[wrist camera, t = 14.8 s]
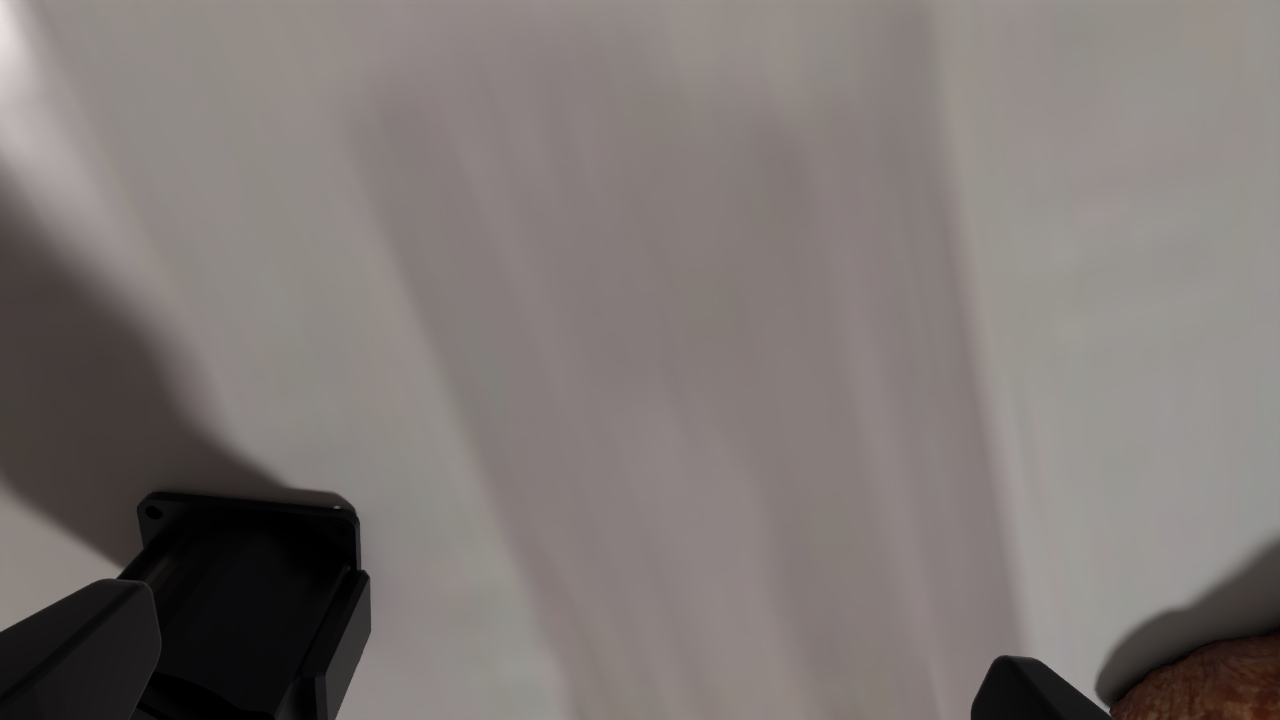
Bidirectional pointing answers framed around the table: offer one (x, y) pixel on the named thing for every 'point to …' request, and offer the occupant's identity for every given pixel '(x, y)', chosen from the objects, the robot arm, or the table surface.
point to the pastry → (1211, 684)
